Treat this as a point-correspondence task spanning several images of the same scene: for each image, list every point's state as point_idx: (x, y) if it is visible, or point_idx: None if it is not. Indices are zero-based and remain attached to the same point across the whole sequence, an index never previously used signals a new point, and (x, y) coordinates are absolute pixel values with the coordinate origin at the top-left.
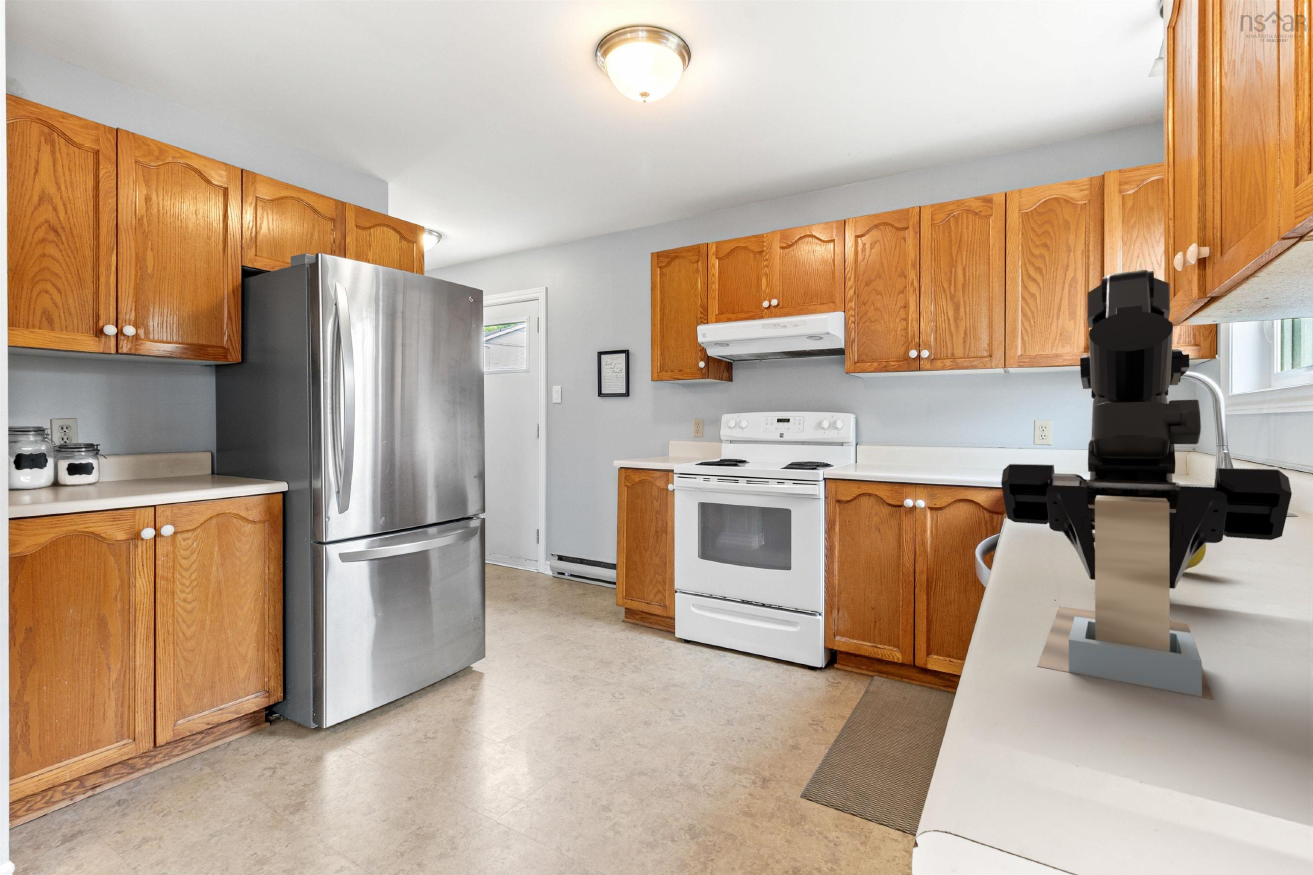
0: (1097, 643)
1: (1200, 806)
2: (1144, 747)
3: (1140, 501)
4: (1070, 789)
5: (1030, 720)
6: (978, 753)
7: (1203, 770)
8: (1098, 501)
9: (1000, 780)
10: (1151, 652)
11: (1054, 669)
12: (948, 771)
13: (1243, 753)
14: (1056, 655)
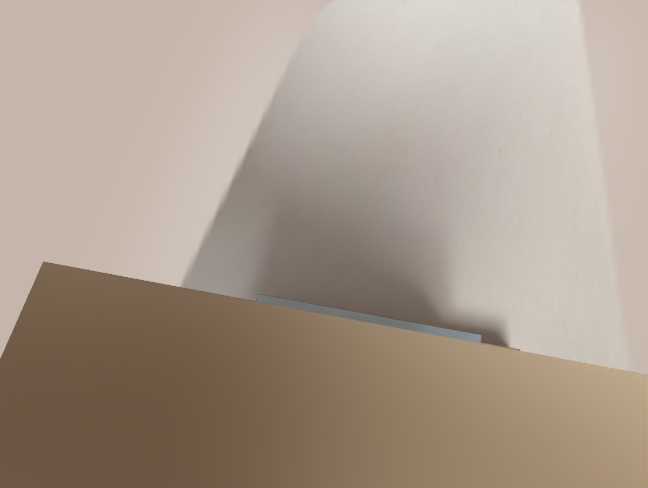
0: (424, 328)
1: (361, 51)
2: (383, 148)
3: (226, 353)
4: (466, 27)
5: (510, 163)
6: (557, 52)
7: (336, 121)
8: (622, 381)
9: (527, 13)
10: (331, 309)
11: (488, 344)
12: (577, 6)
13: (280, 183)
14: None
